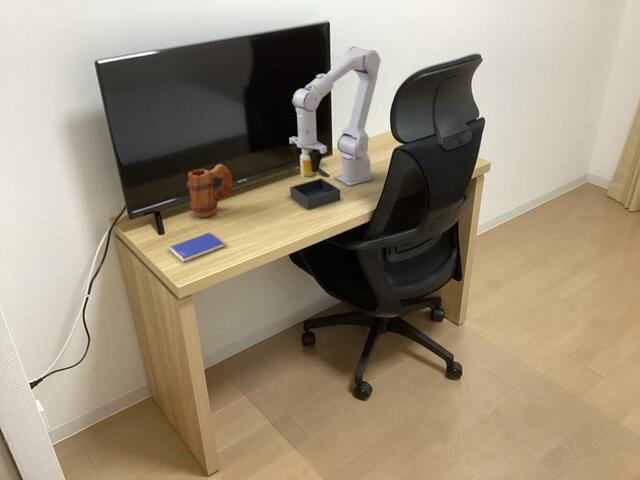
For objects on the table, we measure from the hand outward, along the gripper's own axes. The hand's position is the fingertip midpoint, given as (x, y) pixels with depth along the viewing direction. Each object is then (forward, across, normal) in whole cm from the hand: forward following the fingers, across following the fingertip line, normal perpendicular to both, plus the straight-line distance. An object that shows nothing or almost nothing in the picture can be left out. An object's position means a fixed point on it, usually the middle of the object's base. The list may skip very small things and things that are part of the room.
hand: (308, 169), depth 186 cm
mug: (+10, -16, -28) cm, 34 cm away
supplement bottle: (+3, 0, 0) cm, 3 cm away
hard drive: (+10, -1, -45) cm, 46 cm away
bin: (+10, +2, 0) cm, 10 cm away
